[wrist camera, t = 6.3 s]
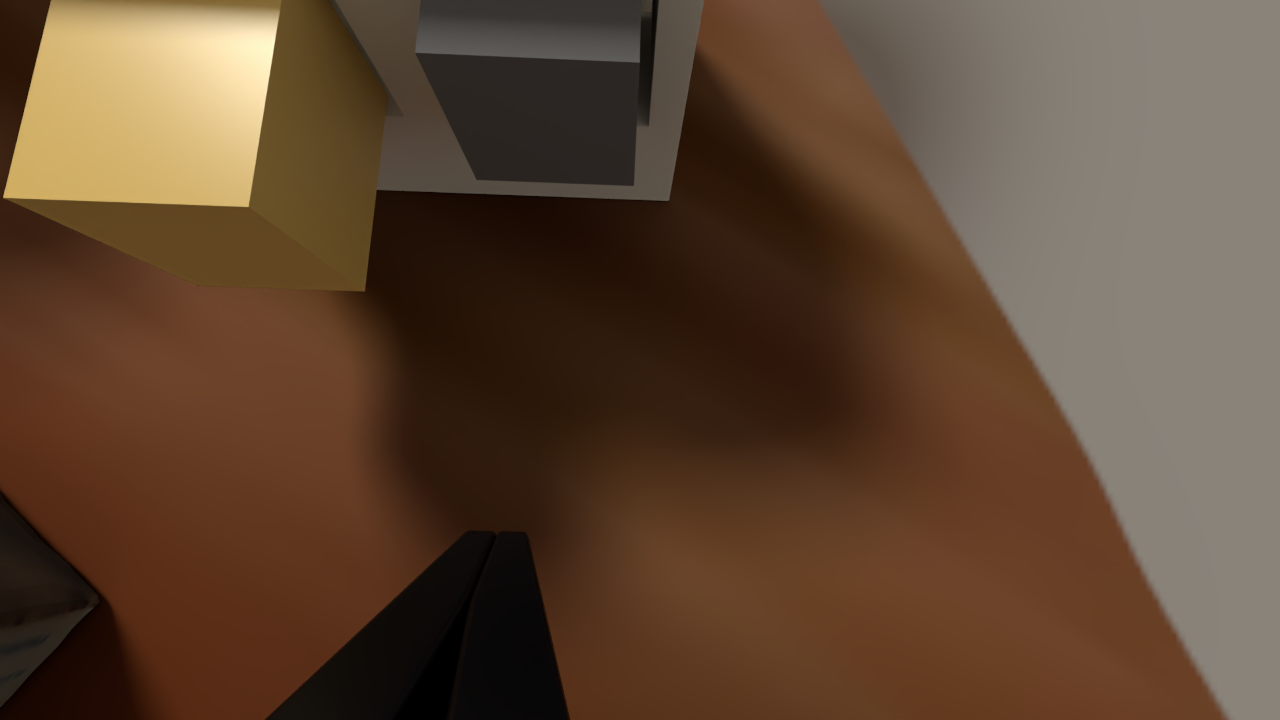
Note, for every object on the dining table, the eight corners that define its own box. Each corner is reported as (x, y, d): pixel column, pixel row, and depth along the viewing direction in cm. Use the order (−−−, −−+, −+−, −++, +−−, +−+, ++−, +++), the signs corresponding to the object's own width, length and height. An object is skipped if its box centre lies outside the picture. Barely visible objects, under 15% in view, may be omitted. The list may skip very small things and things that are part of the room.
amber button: (365, 291, 13) (248, 206, 9) (197, 286, 12) (3, 198, 9) (387, 96, 13) (291, -62, 9) (231, 89, 13) (68, -73, 9)
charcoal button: (634, 185, 13) (639, 62, 9) (476, 179, 13) (415, 52, 9) (639, 6, 14) (646, -178, 10) (491, -1, 14) (441, -188, 10)
